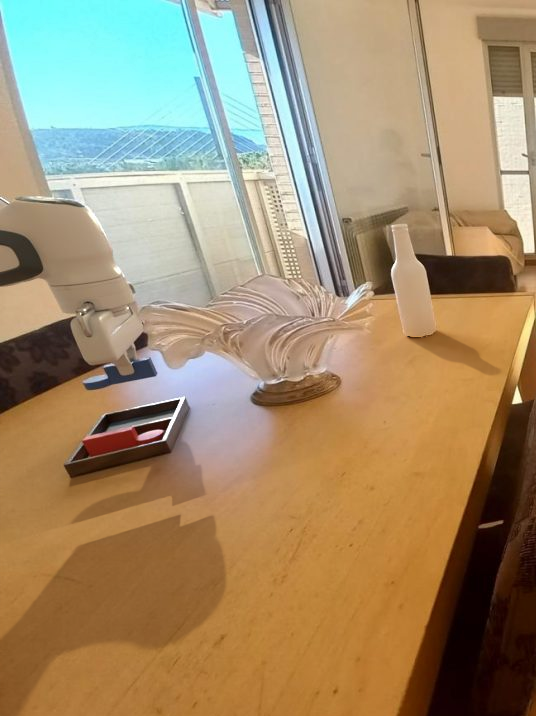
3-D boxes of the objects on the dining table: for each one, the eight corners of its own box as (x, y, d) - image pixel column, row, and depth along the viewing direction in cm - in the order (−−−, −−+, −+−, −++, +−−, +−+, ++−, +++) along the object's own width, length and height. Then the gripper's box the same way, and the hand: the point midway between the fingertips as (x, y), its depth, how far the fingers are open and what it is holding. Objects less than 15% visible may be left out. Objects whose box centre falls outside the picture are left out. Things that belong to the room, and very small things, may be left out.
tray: (70, 477, 75) (63, 465, 74) (107, 425, 90) (101, 414, 89) (171, 452, 81) (165, 440, 80) (189, 407, 96) (185, 396, 95)
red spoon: (89, 461, 78) (79, 443, 76) (96, 451, 81) (86, 434, 79) (164, 443, 82) (156, 426, 81) (168, 434, 85) (160, 417, 84)
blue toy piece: (158, 371, 89) (151, 355, 88) (154, 378, 86) (146, 361, 85) (89, 384, 85) (80, 367, 83) (83, 392, 82) (73, 374, 80)
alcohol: (430, 326, 140) (411, 221, 129) (441, 333, 134) (421, 224, 123) (400, 333, 135) (376, 225, 124) (409, 340, 129) (386, 227, 117)
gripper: (102, 306, 74) (140, 386, 79) (135, 282, 90) (165, 350, 95) (44, 314, 71) (88, 396, 76) (89, 288, 86) (122, 357, 92)
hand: (131, 370), depth 86 cm, fingers closed on blue toy piece
